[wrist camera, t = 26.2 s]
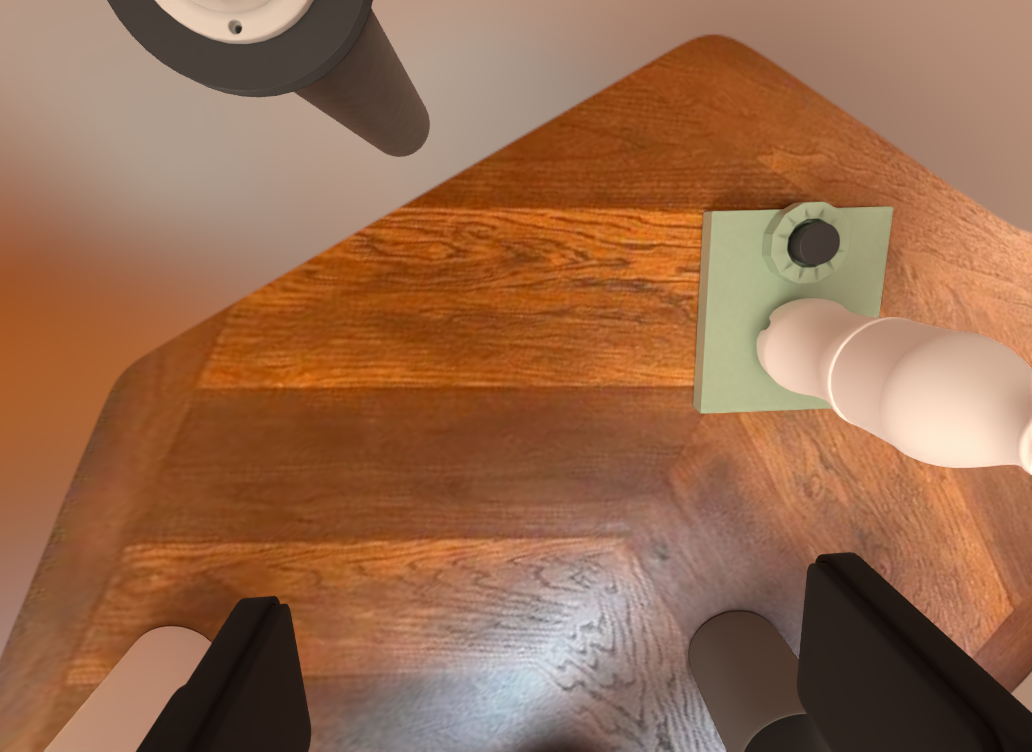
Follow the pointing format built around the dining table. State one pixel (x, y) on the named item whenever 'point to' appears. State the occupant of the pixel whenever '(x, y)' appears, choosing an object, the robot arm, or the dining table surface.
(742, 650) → the mug
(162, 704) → the cup
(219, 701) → the robot arm
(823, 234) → the button
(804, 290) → the scale
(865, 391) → the water bottle
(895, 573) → the dining table surface
